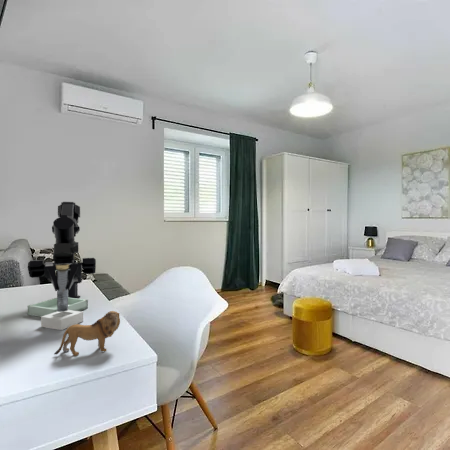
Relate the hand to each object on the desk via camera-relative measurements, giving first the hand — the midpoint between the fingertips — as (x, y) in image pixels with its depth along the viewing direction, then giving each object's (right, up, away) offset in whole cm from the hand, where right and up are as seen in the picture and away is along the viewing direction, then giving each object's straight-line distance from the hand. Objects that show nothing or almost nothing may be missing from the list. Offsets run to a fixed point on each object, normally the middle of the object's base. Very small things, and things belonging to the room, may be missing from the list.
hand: (62, 289), depth 89 cm
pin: (-1, -7, +1) cm, 7 cm away
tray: (-9, -11, +14) cm, 20 cm away
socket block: (-1, -11, +1) cm, 11 cm away
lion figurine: (+16, -11, -16) cm, 26 cm away
